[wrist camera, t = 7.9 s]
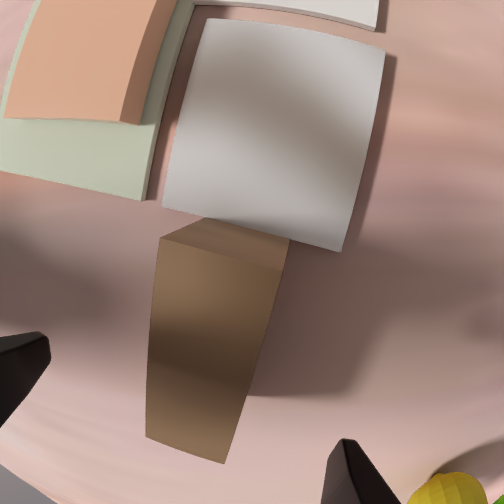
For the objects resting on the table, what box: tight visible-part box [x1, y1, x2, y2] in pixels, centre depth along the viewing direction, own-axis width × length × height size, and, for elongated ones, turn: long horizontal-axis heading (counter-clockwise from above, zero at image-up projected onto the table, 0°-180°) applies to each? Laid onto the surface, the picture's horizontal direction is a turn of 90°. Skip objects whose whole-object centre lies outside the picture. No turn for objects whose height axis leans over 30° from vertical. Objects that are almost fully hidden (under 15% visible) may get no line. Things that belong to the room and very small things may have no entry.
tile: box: [4, 0, 177, 126], centre depth 10 cm, size 8×2×8 cm
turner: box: [146, 18, 386, 464], centre depth 10 cm, size 16×7×4 cm, turn 167°
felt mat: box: [0, 0, 195, 201], centre depth 11 cm, size 14×12×1 cm
